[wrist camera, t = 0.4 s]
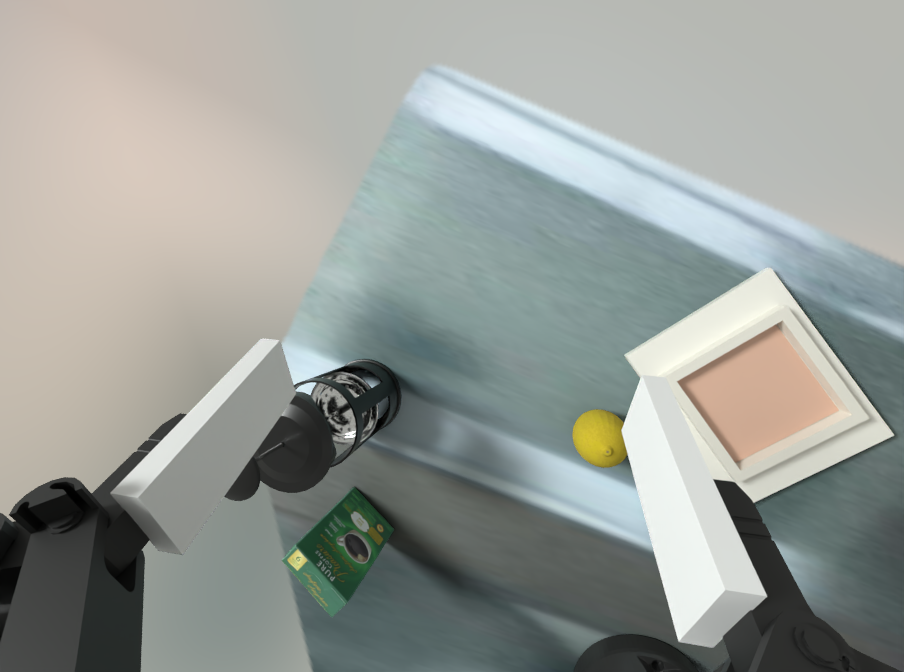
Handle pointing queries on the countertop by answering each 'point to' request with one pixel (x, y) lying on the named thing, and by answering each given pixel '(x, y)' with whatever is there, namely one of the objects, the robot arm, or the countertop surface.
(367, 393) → the french press
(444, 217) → the countertop surface
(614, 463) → the lemon
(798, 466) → the tray
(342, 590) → the coffee box
